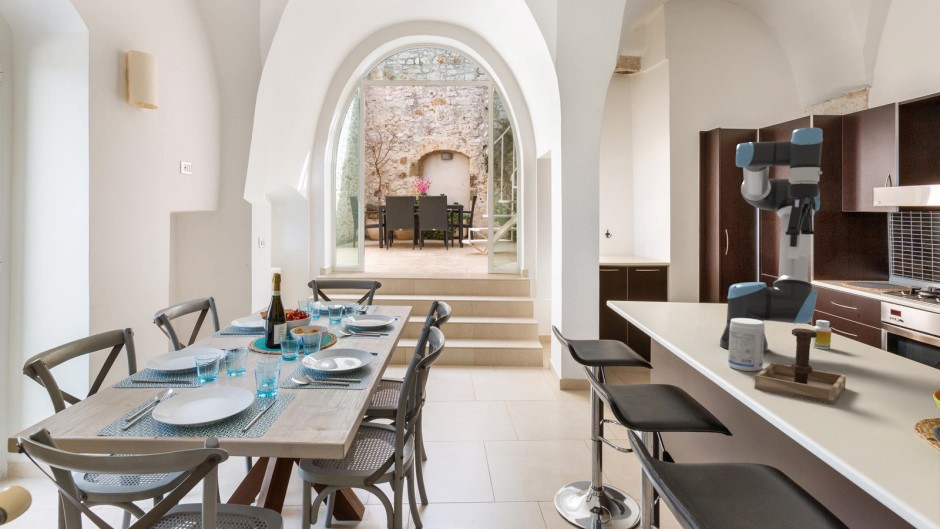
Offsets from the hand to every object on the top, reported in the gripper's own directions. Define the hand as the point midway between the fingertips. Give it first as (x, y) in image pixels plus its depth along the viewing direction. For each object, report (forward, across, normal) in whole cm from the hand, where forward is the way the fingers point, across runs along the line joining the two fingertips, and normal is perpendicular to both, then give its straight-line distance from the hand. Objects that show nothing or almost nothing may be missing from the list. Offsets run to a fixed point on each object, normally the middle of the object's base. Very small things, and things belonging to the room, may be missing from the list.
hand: (798, 257), depth 157 cm
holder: (+35, -13, -5) cm, 37 cm away
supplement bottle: (+35, +46, 0) cm, 58 cm away
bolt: (+34, -13, -5) cm, 37 cm away
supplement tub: (+35, -2, +12) cm, 37 cm away
